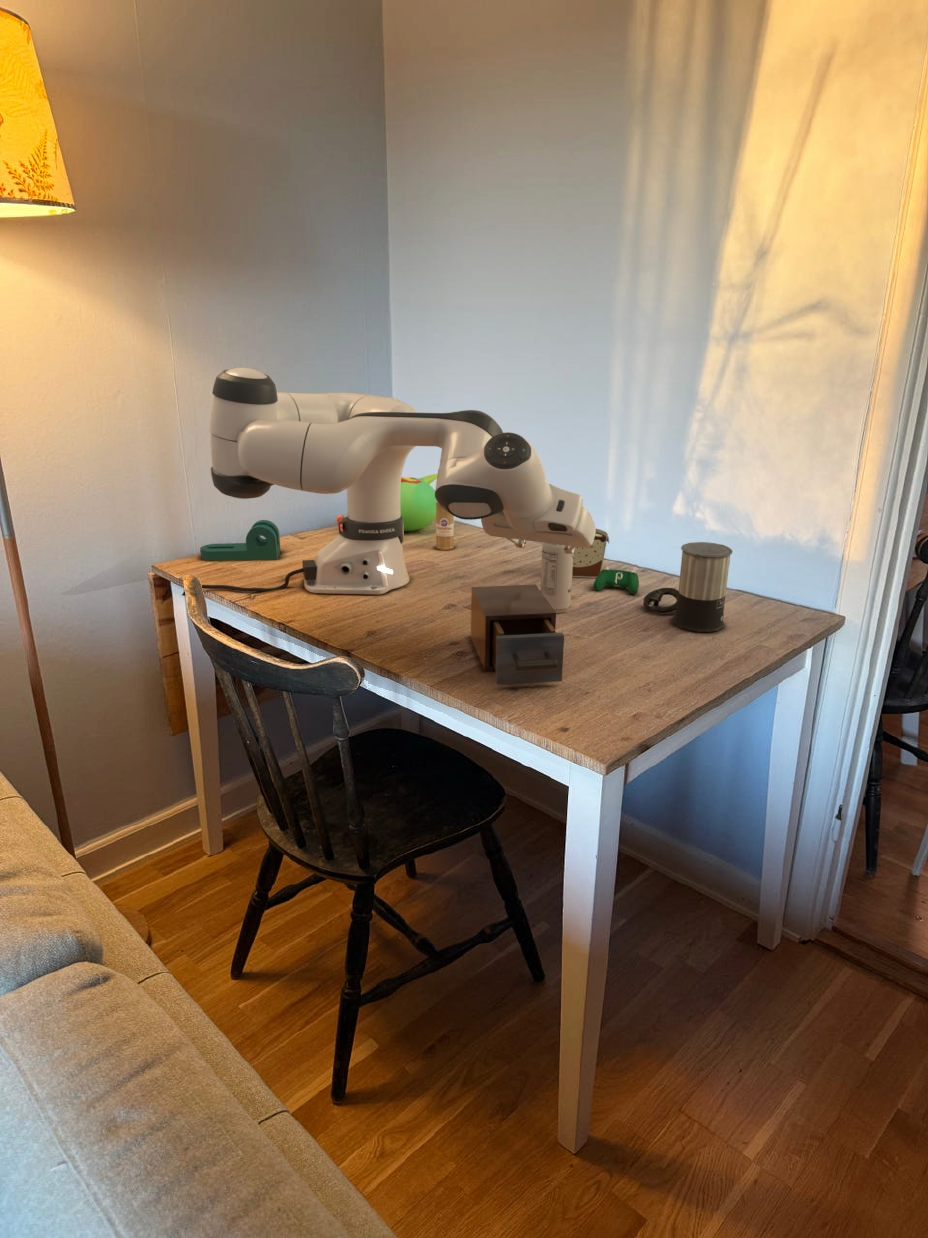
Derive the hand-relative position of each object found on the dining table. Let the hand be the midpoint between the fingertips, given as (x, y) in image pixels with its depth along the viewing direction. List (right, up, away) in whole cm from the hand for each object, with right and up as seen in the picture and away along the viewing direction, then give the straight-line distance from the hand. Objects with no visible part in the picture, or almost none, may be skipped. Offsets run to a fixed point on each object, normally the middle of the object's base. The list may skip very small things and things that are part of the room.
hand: (545, 547), depth 151 cm
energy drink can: (+3, -11, +11) cm, 16 cm away
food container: (+11, -3, +33) cm, 35 cm away
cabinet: (-7, -19, -9) cm, 22 cm away
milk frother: (+27, -13, +7) cm, 31 cm away
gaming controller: (+17, -7, +23) cm, 29 cm away
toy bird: (-30, +10, +68) cm, 75 cm away
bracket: (-68, +1, +44) cm, 81 cm away
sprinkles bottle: (-20, +4, +52) cm, 55 cm away
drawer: (-5, -22, -19) cm, 29 cm away
